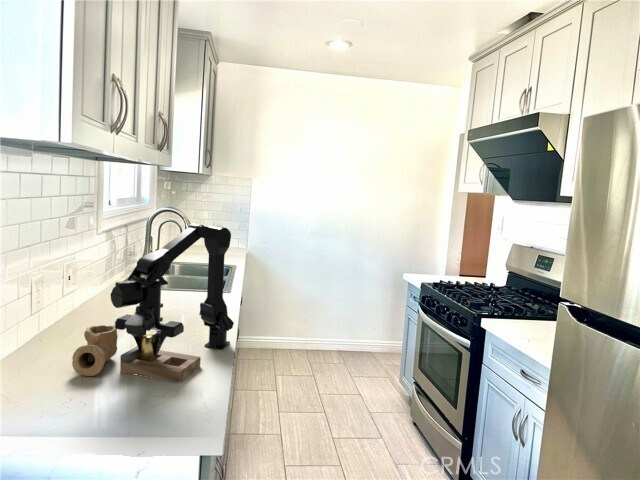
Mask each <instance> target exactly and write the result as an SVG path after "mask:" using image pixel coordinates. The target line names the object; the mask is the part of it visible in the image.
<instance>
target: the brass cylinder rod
mask: <svg viewBox="0 0 640 480" xmlns="http://www.w3.org/2000/svg"><path fill="white" fill-rule="evenodd" d="M152 335H154V333H153V334H152V333H146V335H143V336H142V342H141V360H143V361H149V362H152V361H154V360H156V356H154V339H153V337H152Z"/></svg>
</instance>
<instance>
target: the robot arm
mask: <svg viewBox="0 0 640 480" xmlns="http://www.w3.org/2000/svg"><path fill="white" fill-rule="evenodd" d="M201 238H202V239H203V243H204V246H205V248H206V251H207V253H208V263H207V264H208V266H207V267H208V269H207V288H206V290H207V293H206V298H205V299H204V301H203V302H200V303H199V307H200V310H199V316H200V318H201V320H202V321H203V325H204V326H205V327H208V328H209V331H208V332H209V333H208V342H207V343H205V344H204V347H206V348H210V349H211V348H212V349H219V350H224V349H225V348H226V347H227V346H229V345H230V344H231V341H228V340H227V339H228V338H227V336H228V332H229V331H230V330H233V327H234V324H235V321H233V320H232V319H231V318H230V316H228V305H227V304H226V301H225V300H224V297H223V296H224V279H225V278H224V275H225V254H226V253H227V252H228V250H229V248H230V245H231V239H232V233H231V230H229V228H227V227H224V226H223V227H222V226H217V225H209V226H205V225H203V224H199V223H191V224H189V225H188V226H187V228H185V229H184V230H183V231H182V232H180V233H179V234H178V235H177V236H175V237H174V238H172V239H171V241H169V242H167V244H165V245H164V246H162V247H161V248H159V249H158V250H155V251H152V252H149V253H147V254H145V255H143V256H142V257H139V259H138V260H137V262H136V266H135V267H134V269H133V270H132V272H131V274H129V277H128V278H127V281H116V282H115V286H114V287H113V288H112V290H111V292H110V301H111V304H112V305H113V306H114V308H116V309H121V308H127V307H130V306H135V305H137V306H136V308H135V312H134V314H125V315H123V316H120V317H118V318H116V320H115V321H114V326H115V329H117V330H123V331H124V330H126V331H125V332H126V333H127V334H128V335H131V336H132V337H133V339H134V341H135V342H136V347H137V346H138V349H139V351H140V354H141V342H142V336H143V335H146V334H147V331H148V332H150V331H152V330H154V331H156V333H155V334H154V333H153V334H154V335H152V337H153V339H154V356H156V355H157V354H158V352H159V350H161V348H162V345H163V343H164V342H165V340H166V338H175V337H177V336H179V335H181V334H182V333H184V330H185V328H184V327H185V326H184V324H183V322H182V321H174V320H170V321H168V322H166V323H161V322H163V321H164V318H163V317H162V316H161V308H163V307H164V303H162V301H161V300H162V299H161V297H162V286H166V285H169V282H168V281H167V280H166V279H165V278H164V277H163V276H165V274H167V272H168V271H169V270H170V268H171V265H172V263H173V261H175V260H176V259H177V258H178V257H179V256H181V255H182V254H183V253H185V252H186V251H187V249H189V248H190V247H191V246H192V245H194V244H195V243H196V242H198V241H199V240H201Z"/></svg>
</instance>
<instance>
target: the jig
mask: <svg viewBox="0 0 640 480" xmlns="http://www.w3.org/2000/svg"><path fill="white" fill-rule="evenodd" d="M201 360H202V359H201V356H199V355H192V354H185V353H179V352H174V351H169V350H163V349H162V350H161V349H160V350H159V352H158V354H157V355H156V360H154V361H152V362H149V361H143V360H141V354H140V351H139V349H138V346H137V345H136V346H135V347H133V348H131V349H129V350H128V351H125V352H124V353H122V354H120V362H119V363H120V365H119V367H120V370H119V371H120V372H125V373H124V374H126V373H130V374H129V375H132V374H137V375H142V376H141V377H143V376H147V377H146V378H148V377H152V378H151V379H154V378H156V379H155V380H160V379H162V380H161V381H165V380H168V381H167V382H171V381H173V382H172V383H176V382H180V383H181V382H183V379H184V380H186V378H187V376H188V377H189V376H190V375H191V374H193V373H194V372H195V371H197V370H198V369H199V368H201ZM137 375H136V376H137Z"/></svg>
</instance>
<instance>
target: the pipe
mask: <svg viewBox="0 0 640 480" xmlns="http://www.w3.org/2000/svg"><path fill="white" fill-rule="evenodd" d="M83 335H84V340H85V341H86V342H87V344H86V345H82V346H79V347H77V349H75V350H74V353H73V355H72V357H71V358H72V359H71V360H72V362H71V365H72V369H73V370H74V372H76V373H77V374H79V375H81V376H85V377H94V376H96V375H98V374H100V373H101V372H102V370H103V369H104V365H105V363H106V362H108V361H110V360H111V358H113V357H114V356H115V355H116V354H117V351H118V336H119V335H118V329H115V325H103V324H102V325H91V326H87V327H86V328H85V330H84V333H83Z"/></svg>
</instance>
